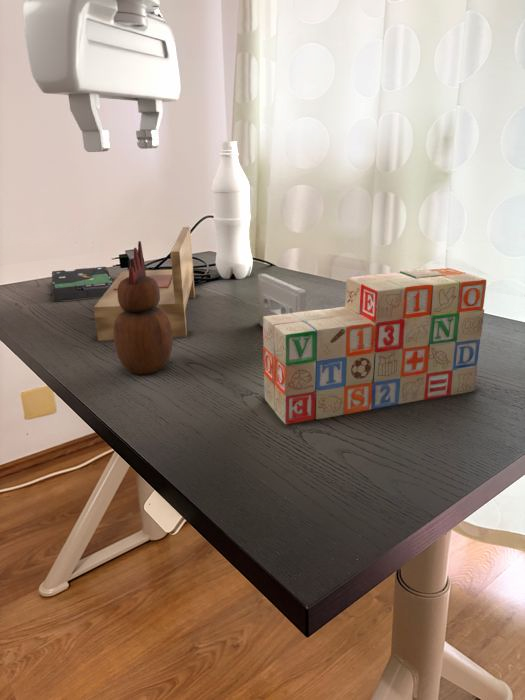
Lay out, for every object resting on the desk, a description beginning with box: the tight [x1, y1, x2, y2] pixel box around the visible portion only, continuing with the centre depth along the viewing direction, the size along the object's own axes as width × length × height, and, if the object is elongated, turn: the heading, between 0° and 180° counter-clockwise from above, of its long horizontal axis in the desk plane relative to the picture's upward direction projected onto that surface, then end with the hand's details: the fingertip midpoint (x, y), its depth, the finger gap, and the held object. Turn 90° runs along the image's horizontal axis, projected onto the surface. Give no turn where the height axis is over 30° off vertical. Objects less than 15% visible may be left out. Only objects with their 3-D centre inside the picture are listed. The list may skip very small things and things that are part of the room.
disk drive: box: [51, 266, 114, 302], centre depth 107 cm, size 10×3×15 cm
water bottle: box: [211, 140, 253, 280], centre depth 110 cm, size 7×7×25 cm
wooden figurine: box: [113, 240, 174, 376], centre depth 67 cm, size 7×6×15 cm
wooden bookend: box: [93, 226, 196, 342], centre depth 88 cm, size 12×22×12 cm, turn 3°
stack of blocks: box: [262, 267, 487, 425], centre depth 59 cm, size 21×6×12 cm, turn 109°
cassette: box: [257, 272, 307, 327], centre depth 79 cm, size 12×2×8 cm, turn 26°
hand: (125, 150), depth 57 cm, fingers open, 8 cm apart
